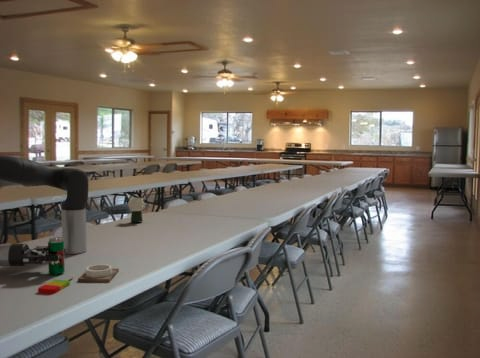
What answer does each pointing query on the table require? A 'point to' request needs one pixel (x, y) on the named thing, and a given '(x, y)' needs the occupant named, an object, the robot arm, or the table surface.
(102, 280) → the socket plate
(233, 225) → the table surface
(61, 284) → the popsicle
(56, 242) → the soda can
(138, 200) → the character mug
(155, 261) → the table surface
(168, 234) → the table surface
